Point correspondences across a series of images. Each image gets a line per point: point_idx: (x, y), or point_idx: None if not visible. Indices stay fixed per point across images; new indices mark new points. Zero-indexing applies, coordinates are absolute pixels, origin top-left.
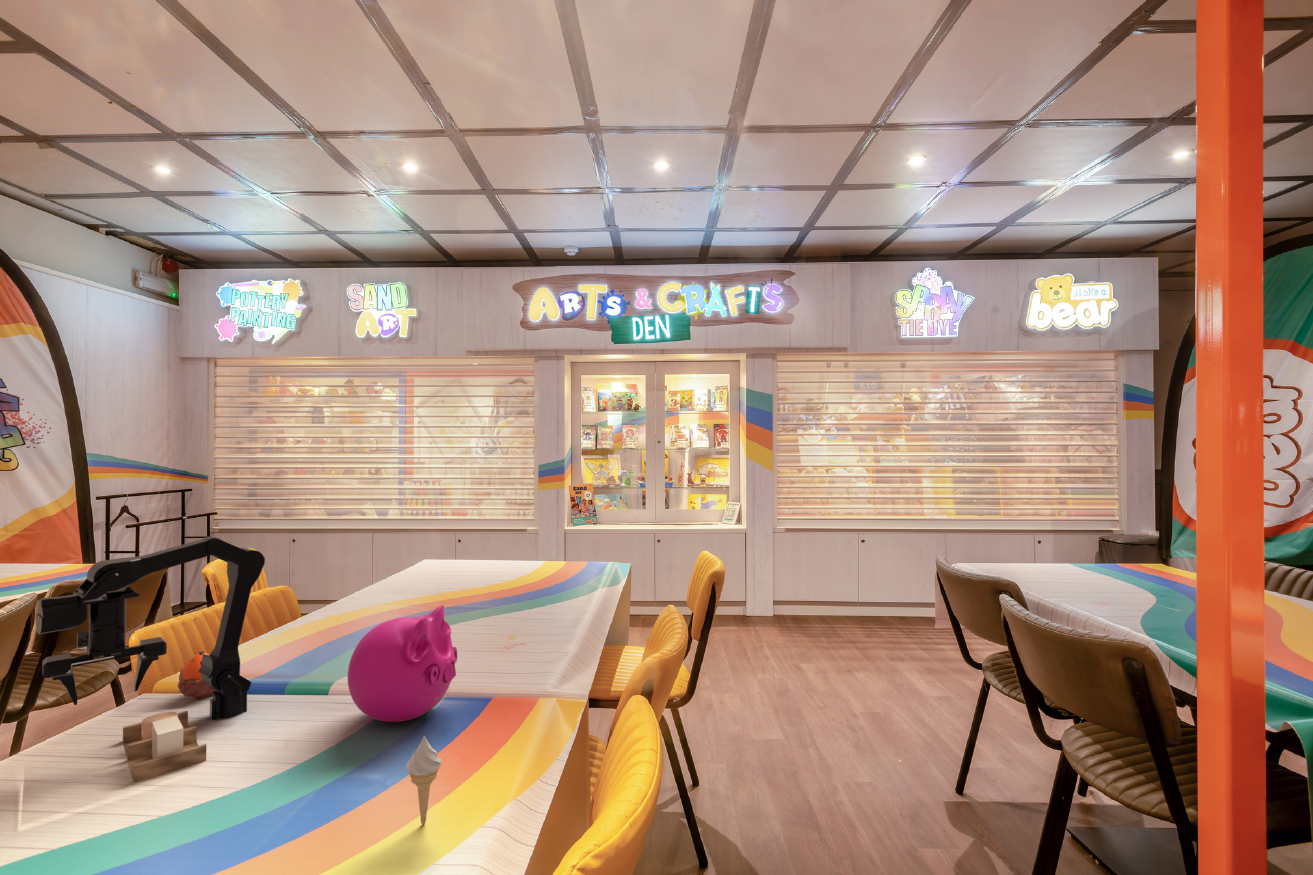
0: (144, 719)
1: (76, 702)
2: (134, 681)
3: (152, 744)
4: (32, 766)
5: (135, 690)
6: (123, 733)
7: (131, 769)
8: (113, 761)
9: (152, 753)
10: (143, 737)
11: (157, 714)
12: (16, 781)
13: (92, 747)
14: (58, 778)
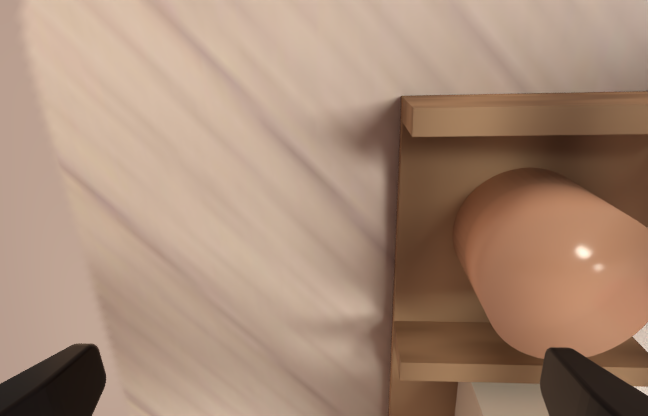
0: (508, 251)
1: (91, 409)
2: (605, 409)
3: (473, 410)
4: (94, 70)
5: (547, 402)
6: (408, 130)
7: (392, 404)
8: (355, 258)
9: (464, 383)
10: (467, 275)
11: (584, 221)
12: (79, 191)
13: (291, 21)
14: (202, 270)
